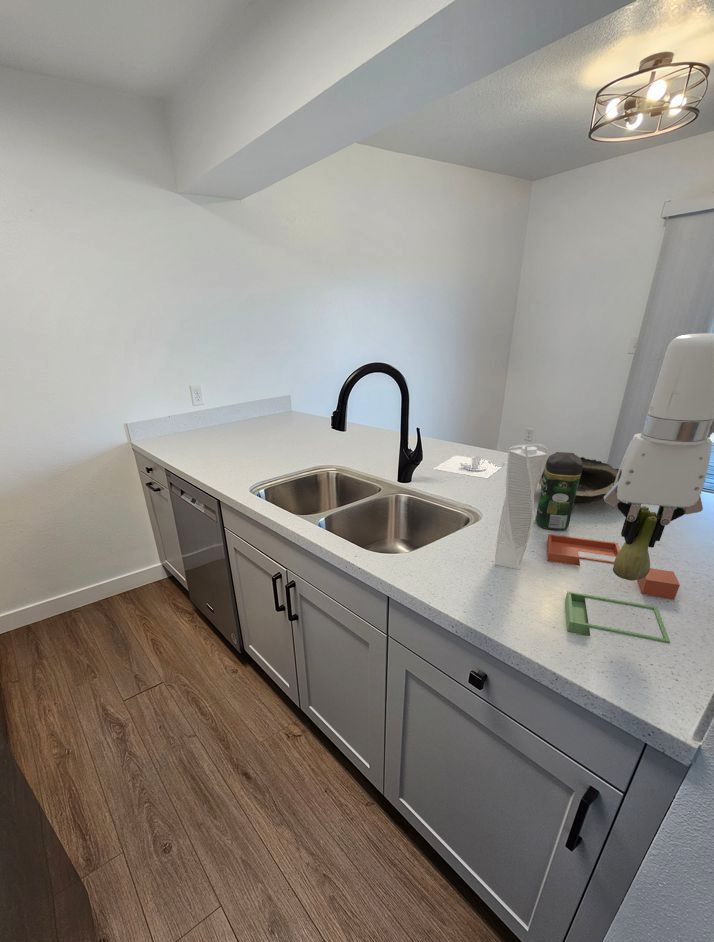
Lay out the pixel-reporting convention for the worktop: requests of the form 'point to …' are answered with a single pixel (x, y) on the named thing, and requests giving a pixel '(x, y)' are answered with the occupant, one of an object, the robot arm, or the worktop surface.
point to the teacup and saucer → (468, 466)
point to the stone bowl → (593, 481)
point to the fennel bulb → (636, 549)
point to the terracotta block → (659, 584)
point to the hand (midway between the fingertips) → (638, 541)
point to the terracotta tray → (578, 549)
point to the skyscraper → (519, 503)
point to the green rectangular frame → (579, 624)
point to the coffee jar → (558, 490)
